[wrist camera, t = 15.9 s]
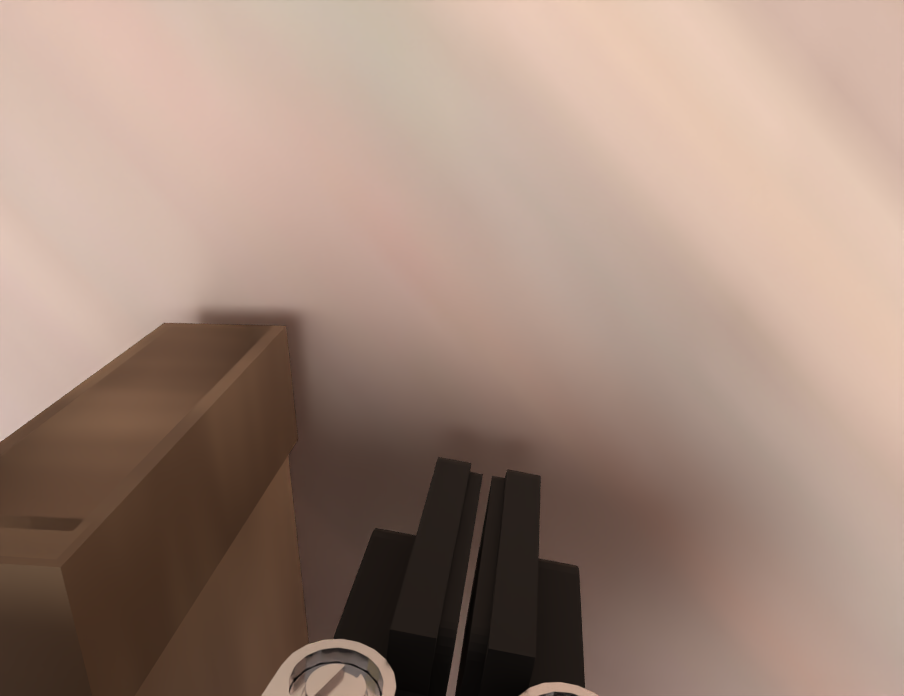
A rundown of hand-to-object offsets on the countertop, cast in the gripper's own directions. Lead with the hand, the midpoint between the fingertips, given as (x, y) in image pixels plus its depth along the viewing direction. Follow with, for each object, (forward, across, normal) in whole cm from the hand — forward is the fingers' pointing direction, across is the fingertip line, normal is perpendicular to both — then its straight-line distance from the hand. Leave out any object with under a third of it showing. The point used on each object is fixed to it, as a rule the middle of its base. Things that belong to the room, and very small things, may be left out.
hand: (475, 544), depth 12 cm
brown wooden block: (+1, +4, +3) cm, 5 cm away
